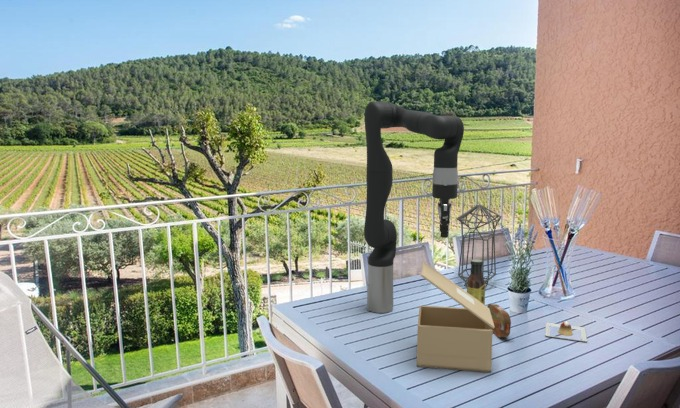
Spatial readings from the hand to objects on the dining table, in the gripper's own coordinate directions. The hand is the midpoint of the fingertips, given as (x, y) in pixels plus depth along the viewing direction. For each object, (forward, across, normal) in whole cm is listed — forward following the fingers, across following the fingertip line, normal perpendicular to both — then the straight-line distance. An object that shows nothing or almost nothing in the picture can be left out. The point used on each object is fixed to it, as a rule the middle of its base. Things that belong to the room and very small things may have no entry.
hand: (443, 234), depth 156 cm
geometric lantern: (+34, -57, +17) cm, 68 cm away
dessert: (+34, -10, +40) cm, 54 cm away
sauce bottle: (+34, -22, +13) cm, 42 cm away
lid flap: (+14, +14, +3) cm, 20 cm away
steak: (+34, -7, +18) cm, 39 cm away
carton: (+34, +14, +3) cm, 36 cm away
